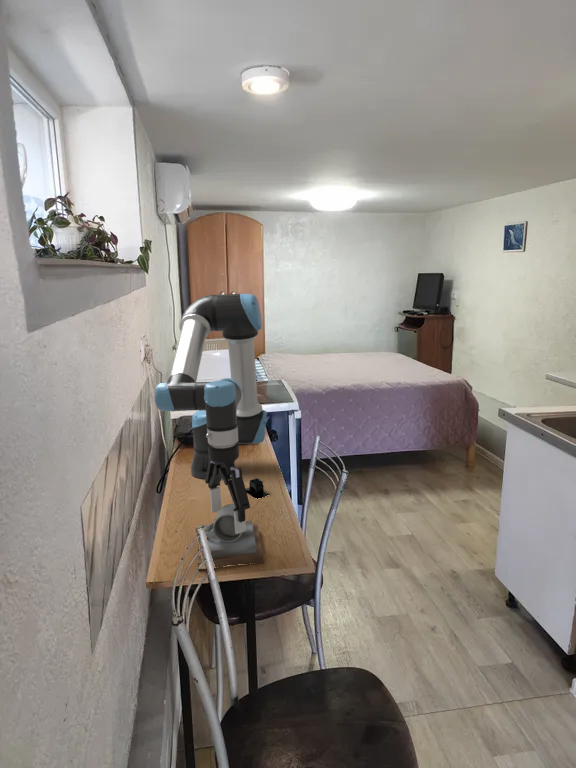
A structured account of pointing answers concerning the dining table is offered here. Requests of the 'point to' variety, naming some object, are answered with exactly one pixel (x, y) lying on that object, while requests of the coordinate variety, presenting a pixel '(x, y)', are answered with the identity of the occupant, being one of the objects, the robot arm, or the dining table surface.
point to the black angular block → (256, 489)
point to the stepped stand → (236, 548)
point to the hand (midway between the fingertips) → (228, 521)
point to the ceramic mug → (223, 525)
